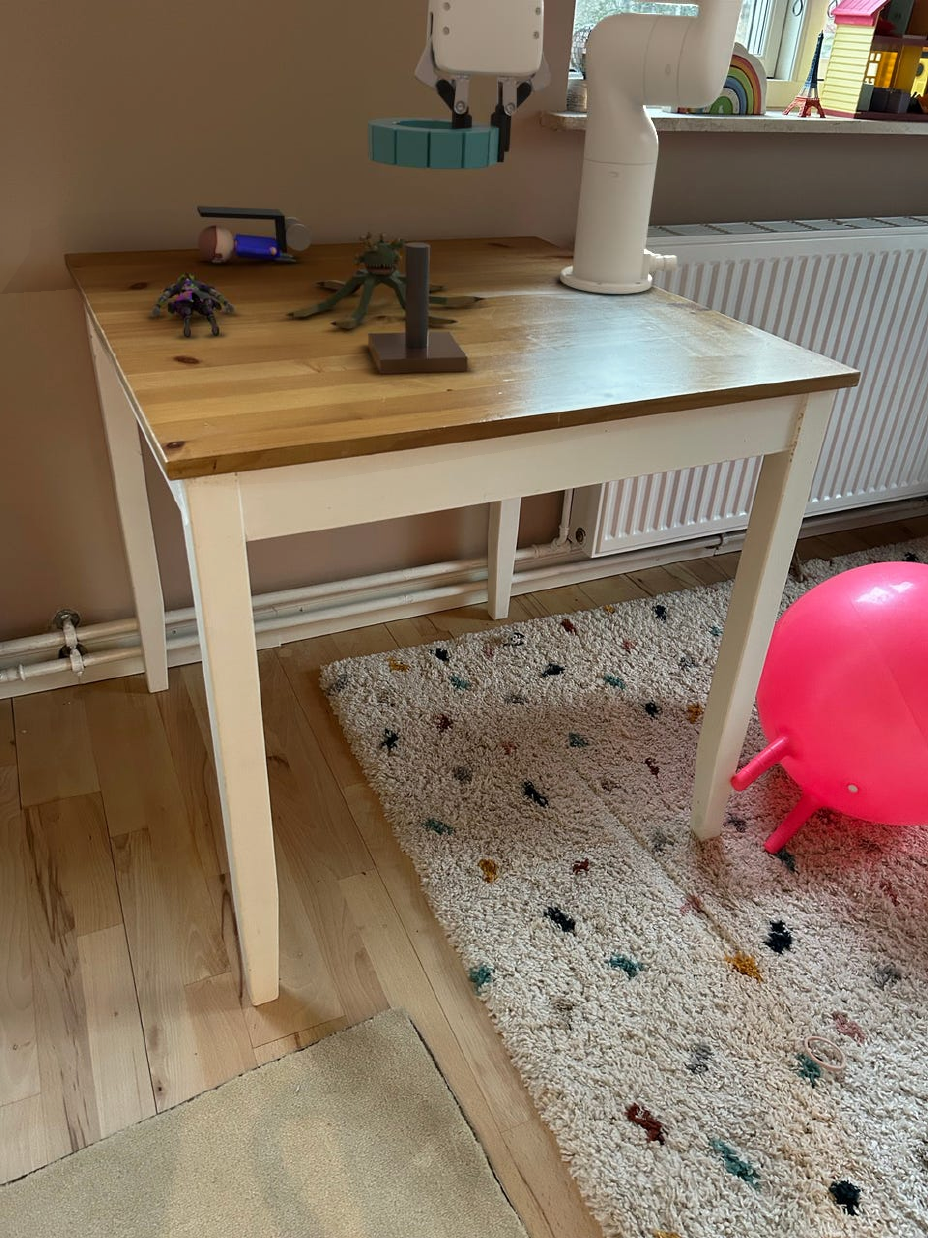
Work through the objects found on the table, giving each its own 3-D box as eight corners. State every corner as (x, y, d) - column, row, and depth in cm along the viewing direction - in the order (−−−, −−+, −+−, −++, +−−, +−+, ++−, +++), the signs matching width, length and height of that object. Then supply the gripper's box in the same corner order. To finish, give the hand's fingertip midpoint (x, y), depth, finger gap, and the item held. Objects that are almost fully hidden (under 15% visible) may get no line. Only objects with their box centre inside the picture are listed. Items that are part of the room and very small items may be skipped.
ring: (478, 152, 97) (480, 119, 95) (509, 169, 87) (512, 133, 85) (361, 150, 94) (360, 115, 93) (379, 168, 84) (379, 130, 83)
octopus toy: (285, 332, 107) (280, 249, 102) (283, 286, 124) (279, 213, 119) (503, 330, 111) (508, 251, 106) (473, 286, 127) (476, 216, 123)
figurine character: (301, 264, 140) (195, 255, 135) (304, 209, 136) (195, 198, 131) (310, 275, 135) (200, 266, 129) (313, 218, 131) (201, 207, 125)
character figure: (245, 337, 106) (226, 294, 118) (242, 303, 104) (223, 263, 116) (158, 342, 103) (147, 297, 115) (153, 308, 101) (143, 265, 113)
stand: (449, 344, 105) (452, 235, 99) (467, 371, 98) (472, 254, 92) (368, 347, 104) (366, 235, 97) (380, 374, 96) (379, 255, 90)
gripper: (566, -68, 86) (548, 156, 96) (390, -80, 83) (389, 153, 93) (594, -73, 80) (571, 166, 90) (405, -86, 77) (403, 164, 87)
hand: (479, 157), depth 92 cm, fingers closed on ring, 2 cm apart
